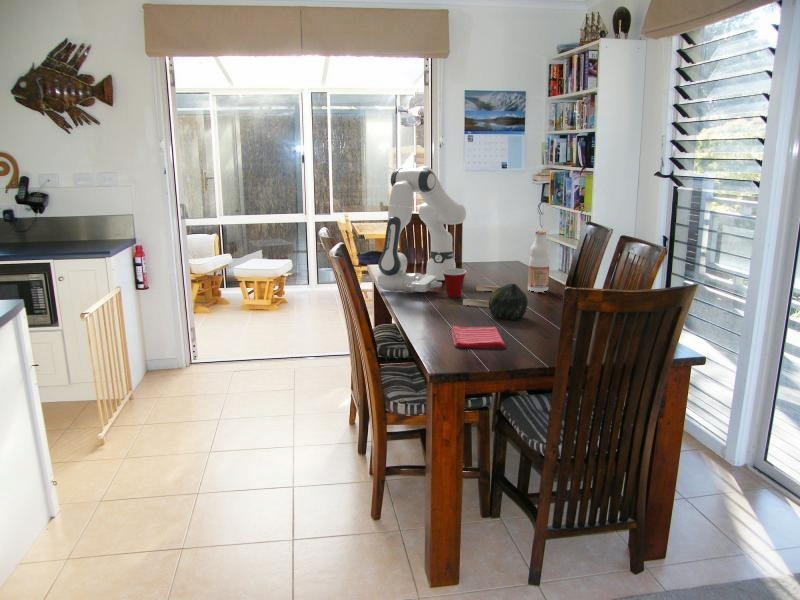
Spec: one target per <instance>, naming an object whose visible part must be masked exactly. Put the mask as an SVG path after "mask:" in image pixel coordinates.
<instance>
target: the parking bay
mask: <svg viewBox="0 0 800 600" xmlns="http://www.w3.org/2000/svg"><path fill="white" fill-rule="evenodd" d="M500 287H501V286H496V285H495V286H494V285H491V286H489V285H480V284H479V285H476V292H484V291H492V292H491V293H493V292H494V291H495V290H496V289H498V288H500ZM467 305H469V306H470V307H480V308H481V307H482V308H483V307H484V308H489V300H482V299H468V298H463V299H462V306H467ZM469 306H468V307H469Z"/></svg>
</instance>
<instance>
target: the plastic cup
mask: <svg viewBox="0 0 800 600" xmlns="http://www.w3.org/2000/svg"><path fill="white" fill-rule="evenodd" d="M442 272H443V274H444V278H445V280H444V282H445V289H446V295H447V297H448V298H453V297H456V298H460V297H461V295H462V290H463V284H464V281H465V276H466V273H467V270H466V269H464V268H458V267H456V268H450V269H445V270H443V271H442Z"/></svg>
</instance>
